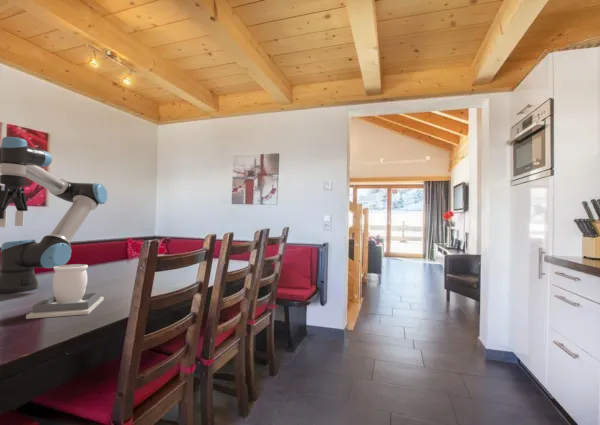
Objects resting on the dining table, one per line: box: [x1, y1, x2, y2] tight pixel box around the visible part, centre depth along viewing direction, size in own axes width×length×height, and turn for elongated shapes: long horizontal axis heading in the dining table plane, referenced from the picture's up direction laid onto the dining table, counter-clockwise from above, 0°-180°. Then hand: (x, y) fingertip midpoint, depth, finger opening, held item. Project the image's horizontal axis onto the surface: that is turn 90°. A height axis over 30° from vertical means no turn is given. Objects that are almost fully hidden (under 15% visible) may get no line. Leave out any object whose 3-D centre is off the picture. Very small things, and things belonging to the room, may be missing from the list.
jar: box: [52, 263, 89, 304], centre depth 113 cm, size 11×10×15 cm
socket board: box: [25, 292, 105, 320], centre depth 112 cm, size 20×18×4 cm
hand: (10, 226), depth 119 cm, fingers open, 13 cm apart
